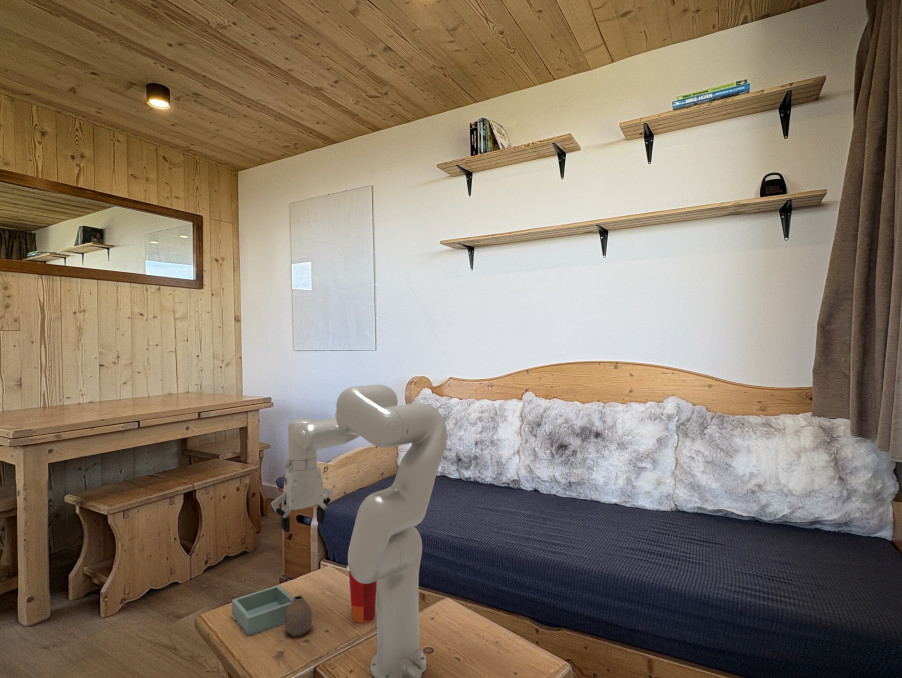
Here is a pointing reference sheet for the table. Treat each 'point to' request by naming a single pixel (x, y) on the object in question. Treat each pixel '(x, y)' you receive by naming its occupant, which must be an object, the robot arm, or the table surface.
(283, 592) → the bin
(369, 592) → the coffee cup
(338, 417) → the robot arm
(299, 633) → the vase
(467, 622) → the table surface
